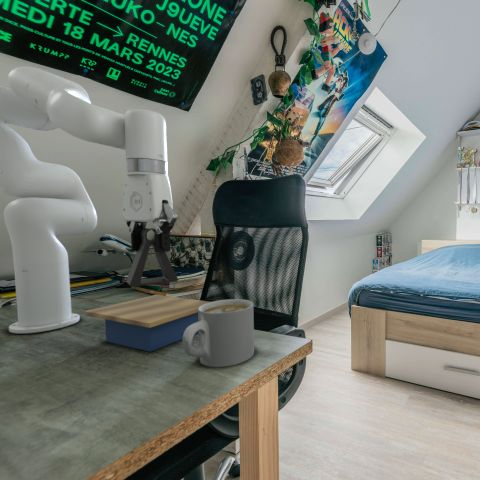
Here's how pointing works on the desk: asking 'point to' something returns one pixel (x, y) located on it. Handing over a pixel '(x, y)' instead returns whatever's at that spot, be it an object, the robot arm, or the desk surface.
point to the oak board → (148, 310)
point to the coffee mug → (222, 333)
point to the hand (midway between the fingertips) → (151, 250)
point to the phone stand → (140, 261)
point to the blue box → (148, 333)
